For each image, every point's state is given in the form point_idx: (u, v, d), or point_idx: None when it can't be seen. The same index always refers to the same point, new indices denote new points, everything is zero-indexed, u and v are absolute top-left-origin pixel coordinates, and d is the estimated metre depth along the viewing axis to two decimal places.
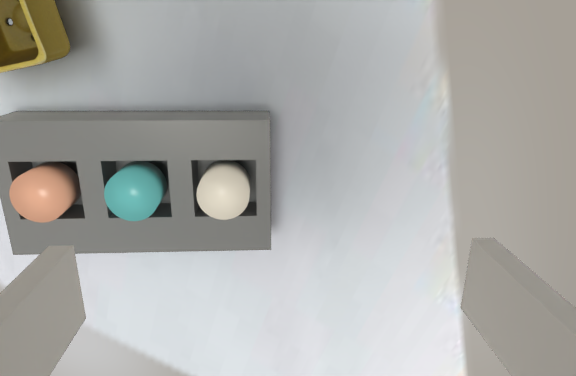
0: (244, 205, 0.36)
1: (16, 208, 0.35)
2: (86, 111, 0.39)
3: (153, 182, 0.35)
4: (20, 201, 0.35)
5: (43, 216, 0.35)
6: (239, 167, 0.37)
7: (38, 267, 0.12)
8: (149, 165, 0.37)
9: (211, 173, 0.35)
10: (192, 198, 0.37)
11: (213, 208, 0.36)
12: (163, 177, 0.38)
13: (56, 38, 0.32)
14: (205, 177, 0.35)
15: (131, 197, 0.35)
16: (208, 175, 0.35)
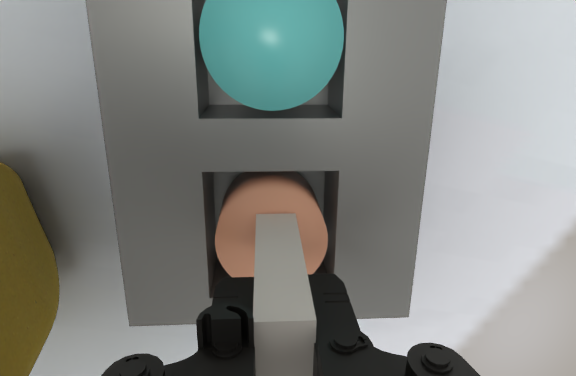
0: None
1: None
2: None
3: None
4: None
5: (314, 237, 0.17)
6: None
7: (265, 229, 0.15)
8: None
9: None
10: None
11: None
12: None
13: None
14: None
15: (274, 38, 0.13)
16: None
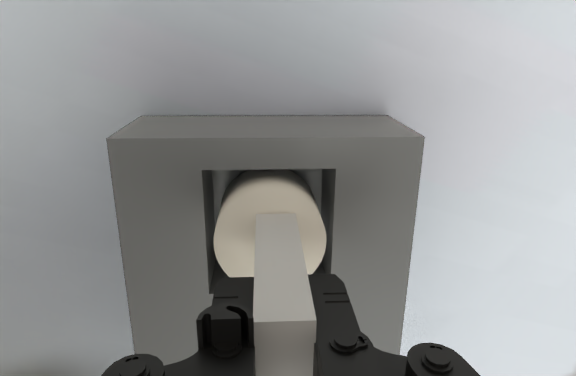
0: (294, 200, 0.16)
1: None
2: None
3: None
4: None
5: None
6: (227, 192, 0.18)
7: (265, 228, 0.15)
8: None
9: (221, 263, 0.17)
10: None
11: None
12: None
13: None
14: (230, 274, 0.17)
15: None
16: (225, 269, 0.17)
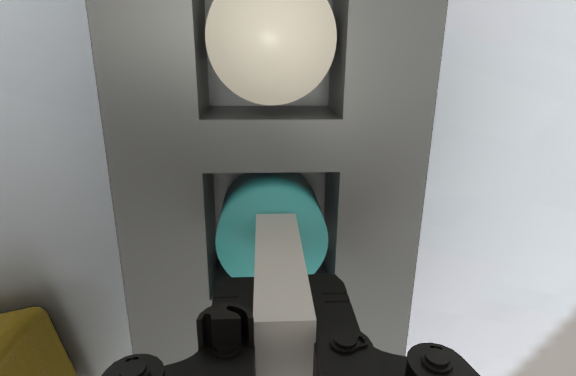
0: None
1: None
2: None
3: (240, 197, 0.16)
4: None
5: None
6: None
7: (265, 229, 0.15)
8: (226, 196, 0.19)
9: (214, 65, 0.14)
10: (295, 122, 0.16)
11: (305, 65, 0.15)
12: None
13: None
14: (225, 81, 0.15)
15: None
16: (219, 73, 0.15)
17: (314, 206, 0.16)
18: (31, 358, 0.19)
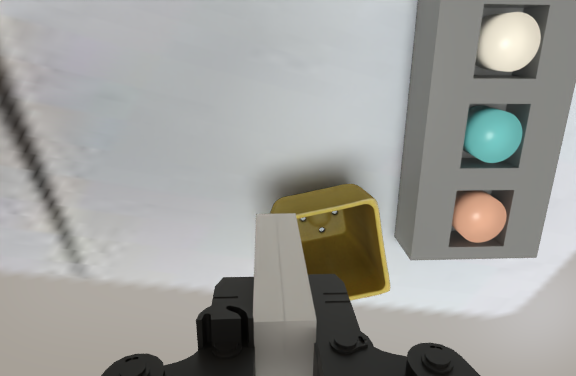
0: (528, 18, 0.33)
1: (488, 239, 0.39)
2: (401, 179, 0.42)
3: (485, 115, 0.35)
4: (482, 234, 0.39)
5: (500, 218, 0.38)
6: None
7: (265, 229, 0.15)
8: None
9: (486, 53, 0.33)
10: (514, 79, 0.34)
11: (524, 54, 0.33)
12: (476, 107, 0.37)
13: (348, 191, 0.36)
14: (489, 60, 0.34)
15: (497, 137, 0.36)
16: (488, 57, 0.33)
17: (517, 119, 0.35)
18: None
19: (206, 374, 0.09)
